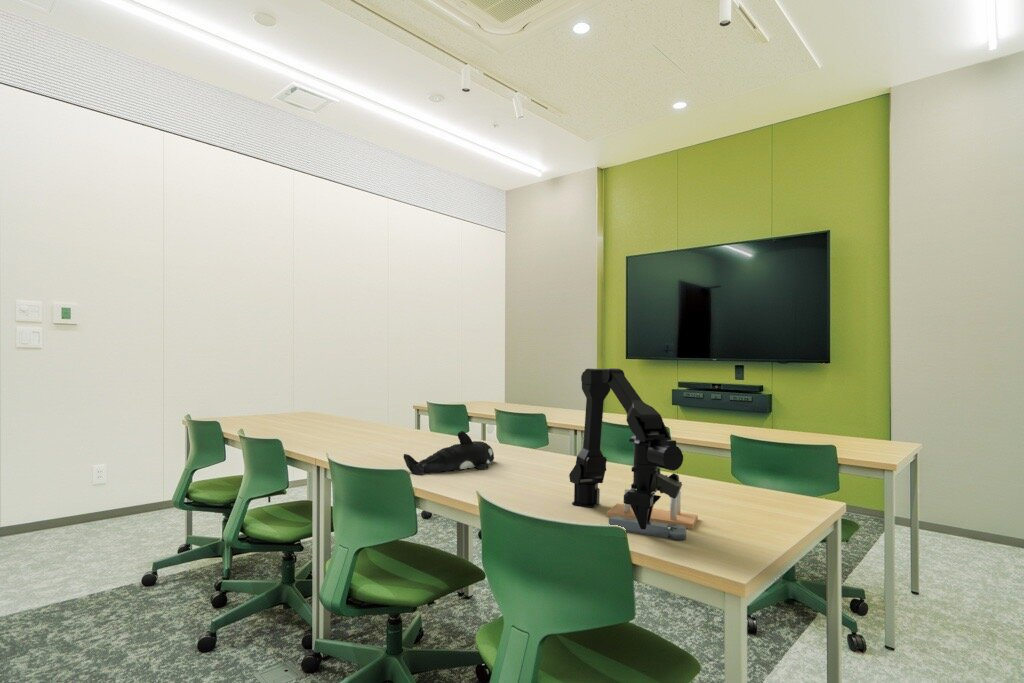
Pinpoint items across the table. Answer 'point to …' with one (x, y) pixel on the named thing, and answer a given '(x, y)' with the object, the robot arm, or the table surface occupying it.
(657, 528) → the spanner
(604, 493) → the table surface
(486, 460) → the orca plush
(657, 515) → the peg rack
